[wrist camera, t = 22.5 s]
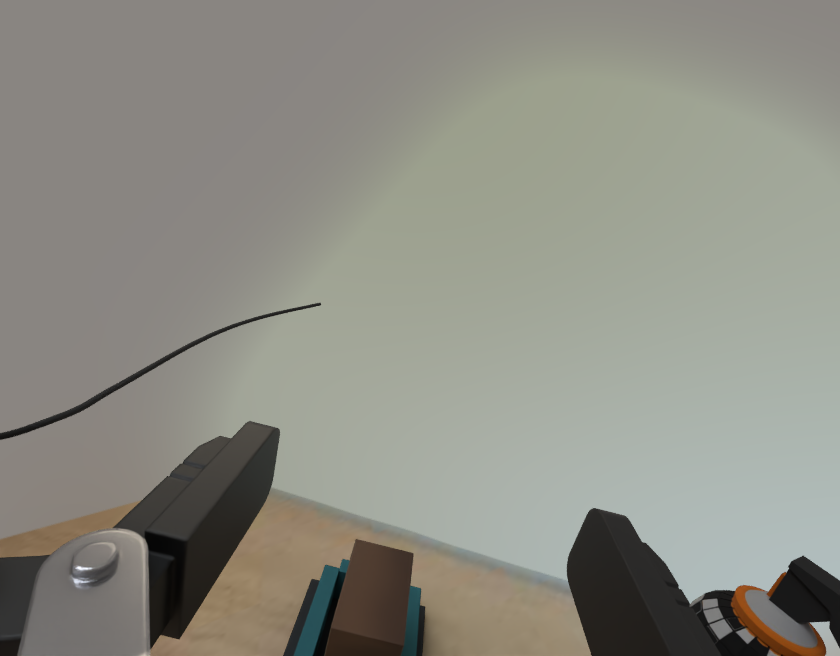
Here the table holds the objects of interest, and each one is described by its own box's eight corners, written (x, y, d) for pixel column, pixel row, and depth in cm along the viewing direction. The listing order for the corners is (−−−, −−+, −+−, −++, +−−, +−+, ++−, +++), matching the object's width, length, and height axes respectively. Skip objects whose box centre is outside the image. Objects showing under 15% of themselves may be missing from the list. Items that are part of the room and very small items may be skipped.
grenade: (844, 784, 30) (972, 643, 25) (788, 855, 25) (931, 698, 21) (693, 632, 39) (767, 509, 35) (633, 663, 35) (709, 528, 30)
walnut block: (303, 746, 24) (330, 627, 21) (331, 642, 30) (355, 538, 27) (367, 762, 24) (404, 646, 21) (383, 655, 30) (413, 552, 27)
